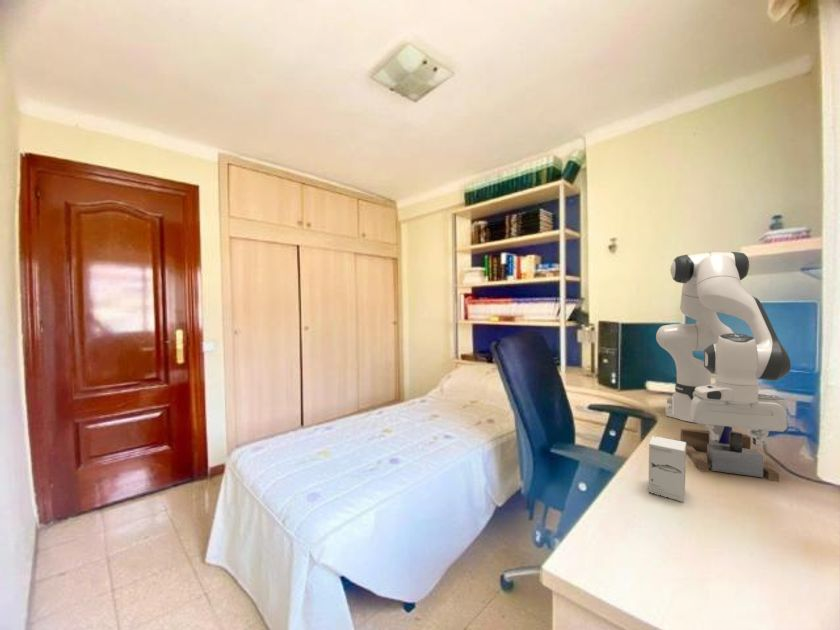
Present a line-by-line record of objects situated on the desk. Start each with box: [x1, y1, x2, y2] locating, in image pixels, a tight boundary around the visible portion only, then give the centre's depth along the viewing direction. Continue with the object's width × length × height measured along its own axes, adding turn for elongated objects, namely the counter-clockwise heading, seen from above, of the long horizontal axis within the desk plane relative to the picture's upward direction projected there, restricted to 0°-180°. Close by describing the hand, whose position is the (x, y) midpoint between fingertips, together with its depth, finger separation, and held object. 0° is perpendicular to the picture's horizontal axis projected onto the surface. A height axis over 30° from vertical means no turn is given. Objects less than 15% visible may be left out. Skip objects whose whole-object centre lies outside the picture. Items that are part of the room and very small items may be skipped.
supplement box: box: [647, 435, 687, 503], centre depth 88 cm, size 7×7×13 cm
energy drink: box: [709, 425, 733, 447], centre depth 107 cm, size 5×5×12 cm
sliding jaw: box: [706, 430, 764, 478], centre depth 98 cm, size 4×11×11 cm, turn 67°
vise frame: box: [680, 427, 780, 482], centre depth 104 cm, size 18×17×6 cm
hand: (735, 442), depth 97 cm, fingers open, 8 cm apart
